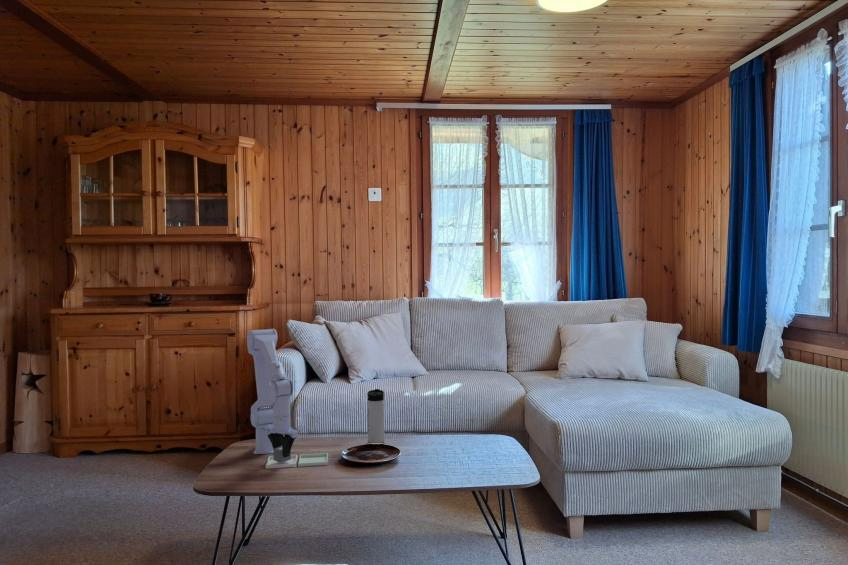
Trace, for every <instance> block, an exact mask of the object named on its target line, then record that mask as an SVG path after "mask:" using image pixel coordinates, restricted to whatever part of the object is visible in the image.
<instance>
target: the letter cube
mask: <svg viewBox="0 0 848 565" xmlns="http://www.w3.org/2000/svg"><path fill="white" fill-rule="evenodd" d="M273 451H274V453H273V456H274V461H277V462H280V463H282V462H285V461H288V460H291V455H292V454H291V452H292V451H290V455H289V456H288V457H285V458H284V457H283V451H282V446H281V447H277V448H274V449H273Z"/></svg>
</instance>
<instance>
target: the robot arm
mask: <svg viewBox="0 0 848 565" xmlns="http://www.w3.org/2000/svg"><path fill="white" fill-rule="evenodd" d="M246 335H247V336H246V346H247V351H248V354H250V355H251V356H252V358H253V365H254V366H253V367H254V374H255V383H256V394H257V400H256V401H255V402H254V403H253V404H252V405H251V407H250V424H251V426H252V427H253V428H255V448H254V451H253V455H264V454H265V455H266V454H267V455H268V454H274V451H273V449H274V448H277V447H281V446H282V451H283V457H284V458H285V457H288V456H289V455H290V451H291V450H292V446H293V444H294V442H295V440H296V438H298V437H299V430H296V429H294V427H291V396H292V395H293V392H294V387H293V386H294V385H293V382H292V381H293V380H292V379H291V378H289V377H290V376H287V374H286V371H285V368H284V364H283V363H282V362H280V361H279V359H278V355H277V349H276V347H277V342H278V337H279V336H278V332H277V330H276V329H275V328H268V329H253V330H252V329H249V330H248V332H247V334H246ZM291 452H292V451H291Z"/></svg>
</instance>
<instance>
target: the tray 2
mask: <svg viewBox="0 0 848 565" xmlns="http://www.w3.org/2000/svg"><path fill="white" fill-rule="evenodd" d="M298 458H299V459H298V463H297V467H302V468H303V467H315V466H317V467H319V466H328V465H329V463H328V462H329V453H328V452H320V453H302V454H299V457H298Z"/></svg>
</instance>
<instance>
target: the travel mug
mask: <svg viewBox="0 0 848 565" xmlns="http://www.w3.org/2000/svg"><path fill="white" fill-rule="evenodd" d="M366 401H367V405H366V406H367V444H368V443H384V444H385V391H384V390H383V389H382V390H381V389H380V388H375V389H373V390H372V389H370V390H368V391H367V400H366Z"/></svg>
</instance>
